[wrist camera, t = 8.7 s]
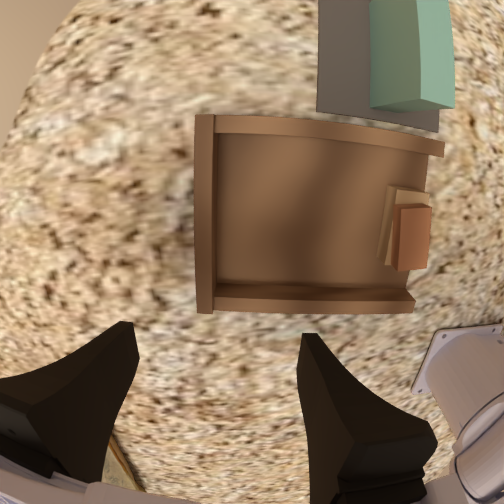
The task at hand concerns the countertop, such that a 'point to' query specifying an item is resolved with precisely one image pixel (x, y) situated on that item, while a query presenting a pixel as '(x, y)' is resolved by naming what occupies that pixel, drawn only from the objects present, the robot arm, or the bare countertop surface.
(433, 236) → the countertop surface
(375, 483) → the robot arm
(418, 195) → the offcut lower
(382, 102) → the block
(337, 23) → the mat
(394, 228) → the offcut upper
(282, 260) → the tray
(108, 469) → the stone slab
